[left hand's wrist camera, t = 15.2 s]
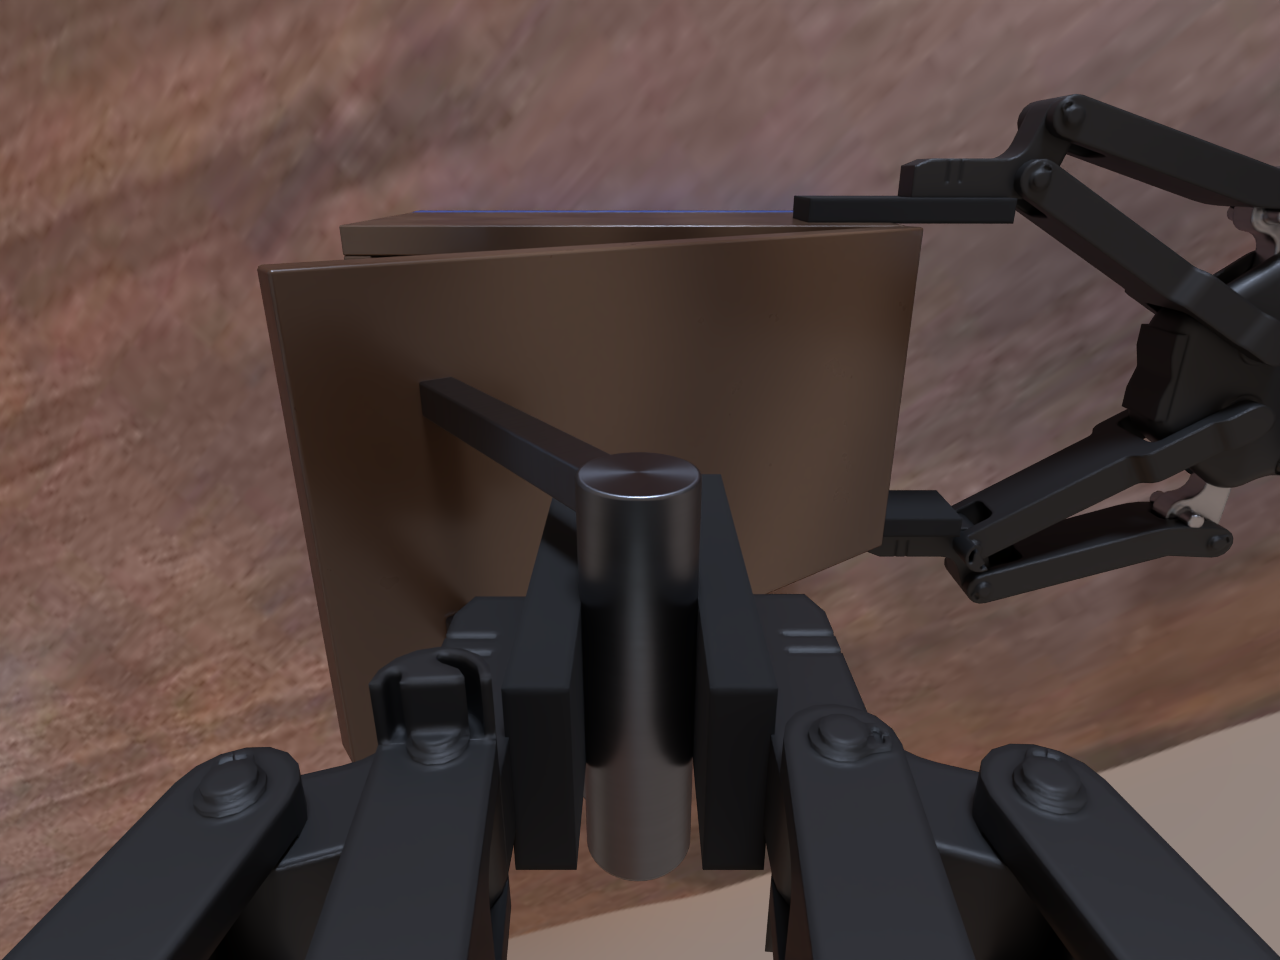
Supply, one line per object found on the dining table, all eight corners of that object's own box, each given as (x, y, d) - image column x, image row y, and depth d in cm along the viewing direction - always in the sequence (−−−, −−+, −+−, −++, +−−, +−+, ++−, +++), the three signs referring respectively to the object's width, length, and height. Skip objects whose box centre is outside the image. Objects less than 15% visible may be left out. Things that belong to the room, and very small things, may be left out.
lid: (341, 745, 17) (520, 1077, 11) (255, 264, 13) (454, 347, 7) (861, 536, 27) (1112, 647, 21) (898, 225, 23) (1221, 245, 17)
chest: (443, 447, 36) (381, 536, 27) (419, 210, 32) (338, 224, 23) (810, 446, 36) (867, 535, 27) (832, 210, 32) (906, 225, 23)
